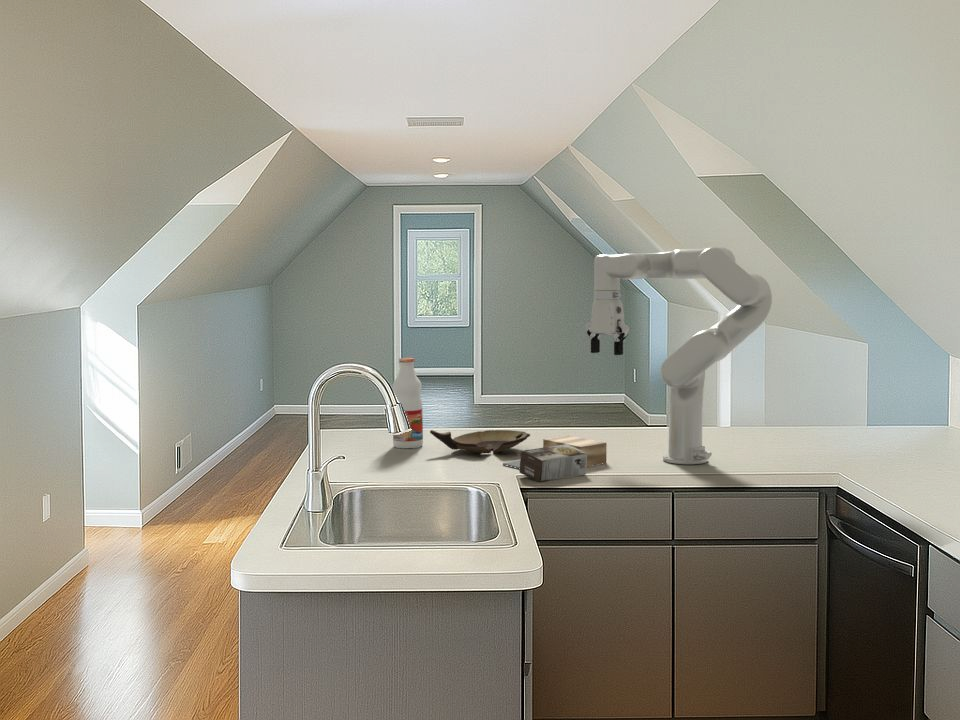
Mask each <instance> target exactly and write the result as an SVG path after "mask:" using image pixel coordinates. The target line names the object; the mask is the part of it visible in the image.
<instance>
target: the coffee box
mask: <svg viewBox="0 0 960 720" xmlns="http://www.w3.org/2000/svg"><path fill="white" fill-rule="evenodd" d="M587 455H588V454H587V453H586V452H583V451H581V450H579V449H577V448H575V447H572V446H570V445H568V444H564V445H557V446H551V447H544V448H543V447H538V448H532V449H531V448H530V449H526V450H521V452H520V469H519V473H520V474H522V475H523V476H526V477H527V478H530V479H531V480H533V481H536V482H538V483H543V482H548V481H553V480H560V479H567V478H572V477H573V478H574V477H577V476H578V477H579V476H583V475H584V476H585V475H586V473H587V472H586V471H587V467H586V464H587Z"/></svg>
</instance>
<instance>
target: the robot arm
mask: <svg viewBox="0 0 960 720" xmlns="http://www.w3.org/2000/svg"><path fill="white" fill-rule="evenodd" d="M593 263H594V264H593V268H594V269H593V271H594V273H593V274H594V277H593V280H594V282H593V283H594V284H593V285H594V286H593V293H594V294H593V301H592V305H591V306H592V307H591V316H590V321H589V322H587V323H585V325H584V327H585V330H586V334H587V335H588V339H589V340H590V354H598V353H600V350H601V349H600V348H601V345H600V343H601V340H600V339H599V338H600V336H601V335H608V336H611V335H612V337H613V339H614V340H615V341H613V355H614V356H622V355H623V354H624V342H625V341H626V339H627V337H628V334H629V331H630V326H629V325H627V324H626V323H625V314H624V313H625V312H624V307H623V302H622V300H621V297H622V294H621V291H620V290H621V288H620V287H621V283H620V282H621V279H622V280H643V279H644V280H645V279H673V280H692V279H706V280H707V281H708V282H709V283H711V285H713V286H714V287H715V288H716V289H717V290H718V291H719V292H720V293H721V294H723V295H724V296H725V297H726V298H728V299H729V300H730V301H731V302H732V303H734V304H735V305H736V306H735V307H734V308H733V309H732V310H731V311H729V312H728V313H727V314H725V315H724V317H722V318H721V319H720V320H718V322H716V323H715V324H714V325H712V326H711V327H710V328H707V329H703V330H699V331H698V332H696V333H695V334H694V335H692V336H691V337H690V338H688V340H686V341H685V342H684V343H683V344H681V345H680V346H679V347H678V348H677V349H675V351H673V352H672V353H670V355H669V356H667V357H666V359H664V360H663V362H662V364H661V366H660V378H661V380H662V381H663V383H664V384H665V385H667V386H668V387H669V395H668V396H669V397H668V453H665V454H664V455H663V456H662V460H663V461H664V462H666V463H668V464H669V463H670V464H677V465H700V464H705V463H707V462H708V460H710V458H711V456H712V455H713V454H712V452H710V451H706V446H705V445H703V416H704V415H703V414H704V413H703V411H704V410H703V409H704V408H703V407H704V404H703V403H704V386H705V380H706V379H705V378H706V370H708V369H709V368H710V367H712V366H713V365H714V364H716V363H717V362H720V361H722V360H723V359H725V358H726V357H727V356H728V355H729V354H730V353H731V352H732V351H733V350H734V349H735V348H737V347H738V346H739V345H741V344H742V343H743V342H744V341H745V340H746V339H747V338H748V337H749V336H750V335H752V334H753V333H754V332H755V331H756V330H757V329H758V328H759V327H760V326H761V325H762V324H763V323H764V321H766V319H767V317H768V316H769V313H770V310H771V307H772V302H773V298H772V297H773V295H772V294H773V293H772V289H771V286H770V284H769V282H768V281H767V279H766V278H764V277H763V276H761V275H759V274H756V273H755V274H753V273H748V272H747V271H746V270H745V269H743V268H742V267H741V266H740V265H739V264H737V262H736V257H735V255H734V253H733V252H732V251H731V250H730V249H728V248H726V247H717V246H715V247H714V246H713V247H703V248H685V249H684V248H682V249H679V248H678V249H673V250H672V251H666V252H665V251H664V252H652V253H651V252H650V253H647V252H646V253H637V252H635V253H622V254H599V255H596V256H595V257H594V261H593Z"/></svg>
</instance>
